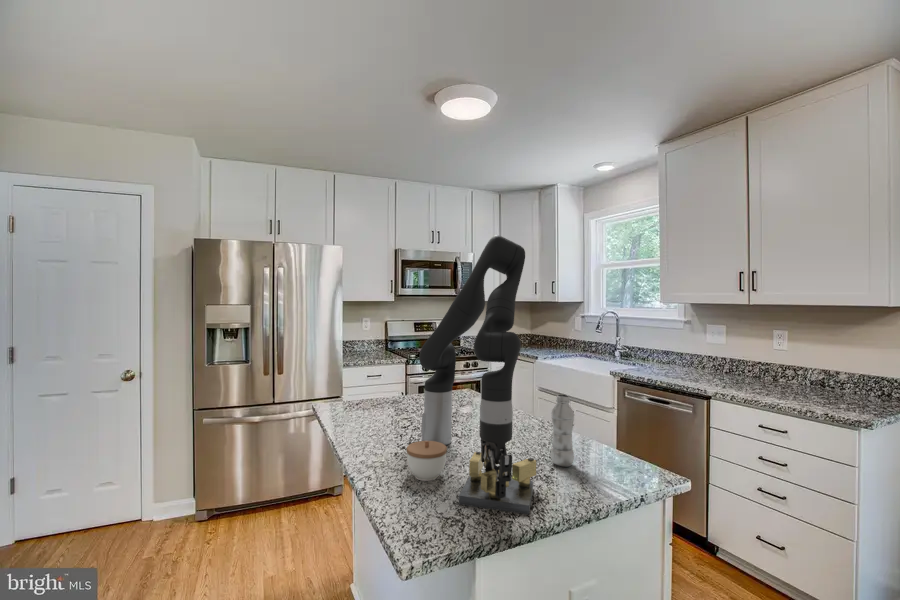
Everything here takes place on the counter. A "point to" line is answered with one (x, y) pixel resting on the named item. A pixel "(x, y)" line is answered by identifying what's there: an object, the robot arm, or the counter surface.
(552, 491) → the counter surface
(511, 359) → the robot arm
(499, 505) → the levelling plate
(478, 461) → the knob
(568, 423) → the plastic bottle
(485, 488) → the bar with square hole
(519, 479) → the knob
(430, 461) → the lidded jar
